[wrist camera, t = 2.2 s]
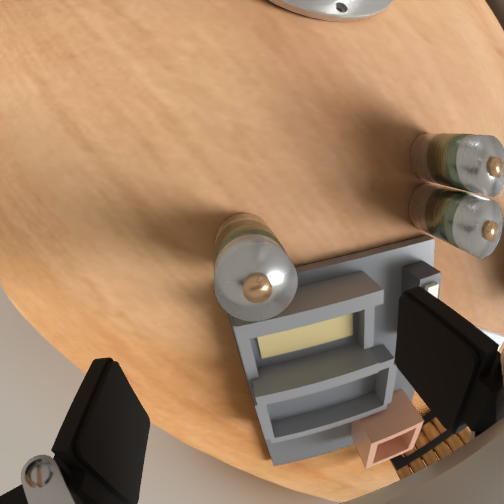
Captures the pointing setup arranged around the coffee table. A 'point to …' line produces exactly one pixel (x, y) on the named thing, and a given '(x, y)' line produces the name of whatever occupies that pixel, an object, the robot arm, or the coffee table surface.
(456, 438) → the ammunition clip
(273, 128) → the coffee table surface
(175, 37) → the coffee table surface
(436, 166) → the cell
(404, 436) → the pink hollow box
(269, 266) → the cell
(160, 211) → the coffee table surface
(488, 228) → the cell
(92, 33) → the coffee table surface
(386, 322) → the board
